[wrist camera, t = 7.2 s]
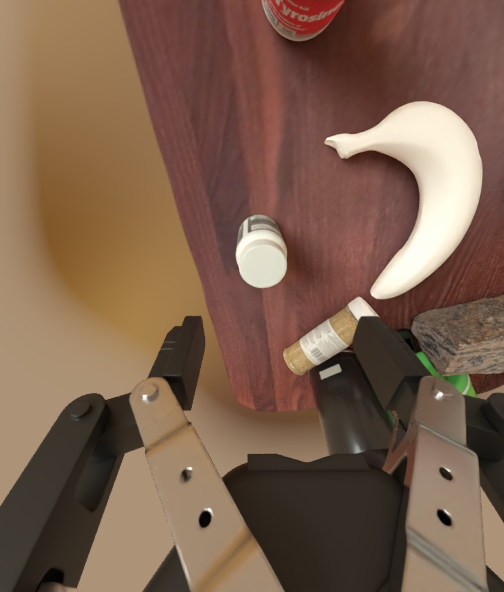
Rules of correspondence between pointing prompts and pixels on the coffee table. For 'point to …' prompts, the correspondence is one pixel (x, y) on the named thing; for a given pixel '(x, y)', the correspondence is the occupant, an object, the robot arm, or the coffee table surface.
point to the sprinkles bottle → (327, 338)
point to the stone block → (463, 337)
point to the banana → (425, 185)
